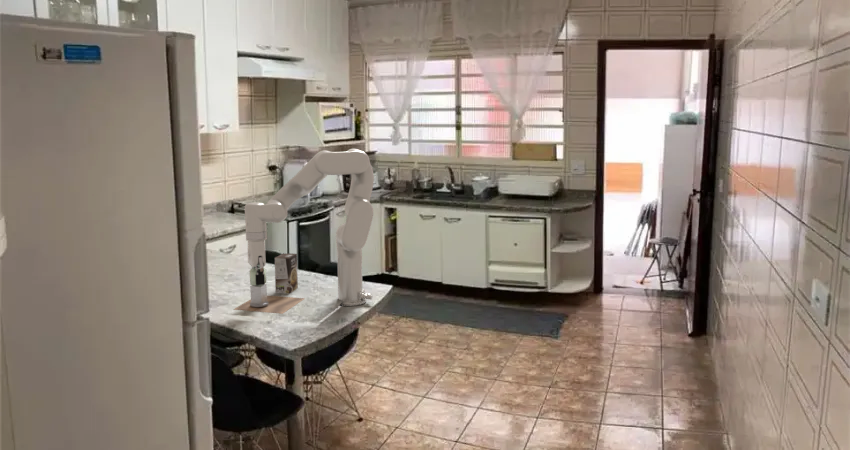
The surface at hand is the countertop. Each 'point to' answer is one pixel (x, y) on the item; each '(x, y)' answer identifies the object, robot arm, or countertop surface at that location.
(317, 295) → the countertop surface
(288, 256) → the coffee box
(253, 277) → the cap
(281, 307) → the base board
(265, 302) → the grey piece
